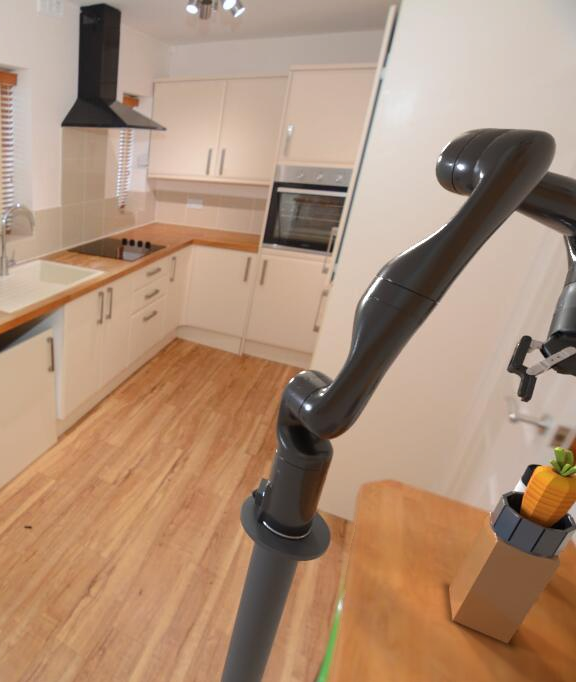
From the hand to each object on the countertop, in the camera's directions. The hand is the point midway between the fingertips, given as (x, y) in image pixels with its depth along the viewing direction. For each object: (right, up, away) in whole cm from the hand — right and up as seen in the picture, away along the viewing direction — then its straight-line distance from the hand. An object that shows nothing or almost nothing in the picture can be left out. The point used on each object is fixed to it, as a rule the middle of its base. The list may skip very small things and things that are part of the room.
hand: (564, 410), depth 68 cm
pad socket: (-7, -35, +7) cm, 36 cm away
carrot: (-7, -18, -1) cm, 19 cm away
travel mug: (+7, -30, +17) cm, 35 cm away
